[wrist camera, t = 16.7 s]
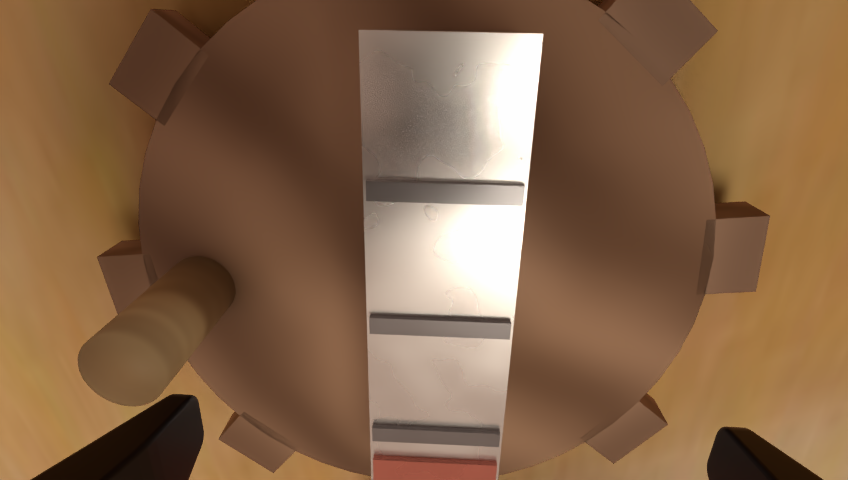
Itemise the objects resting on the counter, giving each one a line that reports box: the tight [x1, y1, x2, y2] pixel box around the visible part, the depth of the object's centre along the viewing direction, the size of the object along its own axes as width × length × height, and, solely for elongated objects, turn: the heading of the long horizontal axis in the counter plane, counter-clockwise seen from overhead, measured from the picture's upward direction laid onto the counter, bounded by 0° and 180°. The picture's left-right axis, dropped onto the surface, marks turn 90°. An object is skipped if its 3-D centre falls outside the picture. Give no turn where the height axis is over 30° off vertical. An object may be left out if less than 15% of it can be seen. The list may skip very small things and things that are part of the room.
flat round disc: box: [78, 0, 770, 476], centre depth 16 cm, size 23×23×6 cm
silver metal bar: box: [359, 30, 543, 480], centre depth 16 cm, size 4×16×4 cm, turn 179°
